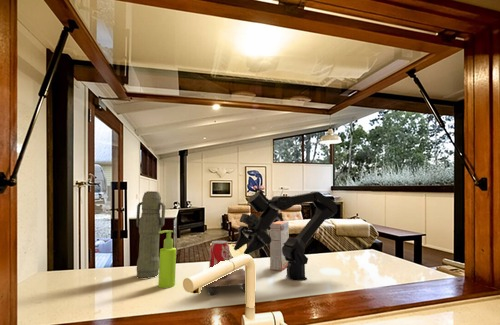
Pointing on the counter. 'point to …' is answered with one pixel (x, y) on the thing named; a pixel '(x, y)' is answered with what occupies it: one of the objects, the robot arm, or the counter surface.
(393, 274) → the counter surface
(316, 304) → the counter surface
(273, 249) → the cracker box
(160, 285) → the soap dispenser
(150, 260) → the thermos
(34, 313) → the counter surface
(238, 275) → the tan square tray
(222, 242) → the soda can
